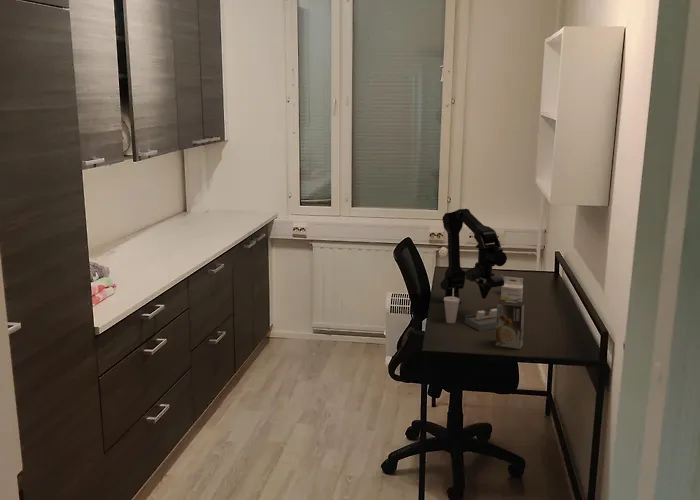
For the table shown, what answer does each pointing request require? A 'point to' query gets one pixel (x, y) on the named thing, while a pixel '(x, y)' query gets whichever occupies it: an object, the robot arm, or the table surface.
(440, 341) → the table surface
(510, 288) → the ink cartridge box
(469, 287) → the table surface
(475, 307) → the table surface
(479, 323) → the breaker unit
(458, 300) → the smoothie
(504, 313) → the coffee box
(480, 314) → the breaker paddles
